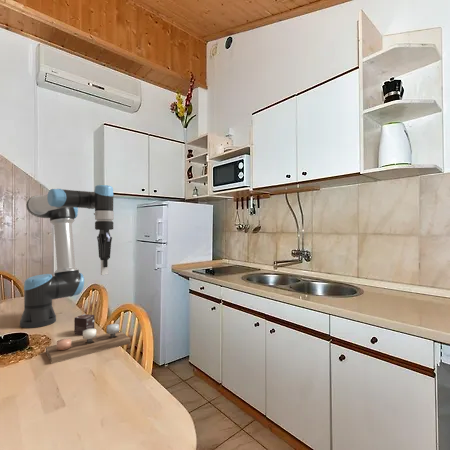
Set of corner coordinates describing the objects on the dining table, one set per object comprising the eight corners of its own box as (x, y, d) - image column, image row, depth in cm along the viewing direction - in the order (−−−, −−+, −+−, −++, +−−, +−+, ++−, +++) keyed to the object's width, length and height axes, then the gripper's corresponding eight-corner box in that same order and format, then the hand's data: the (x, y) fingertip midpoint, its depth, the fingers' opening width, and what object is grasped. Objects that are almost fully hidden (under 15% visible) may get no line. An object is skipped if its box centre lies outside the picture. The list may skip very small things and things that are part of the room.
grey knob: (105, 336, 123) (104, 325, 123) (116, 333, 126) (116, 323, 126) (108, 339, 119) (108, 328, 119) (120, 336, 122) (120, 326, 122)
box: (86, 335, 130) (86, 318, 130) (73, 334, 131) (73, 317, 131) (94, 330, 136) (94, 314, 136) (83, 329, 137) (83, 313, 137)
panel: (45, 352, 112) (45, 347, 112) (119, 335, 130) (119, 330, 130) (51, 363, 103) (51, 357, 103) (130, 343, 121) (130, 338, 121)
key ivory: (81, 341, 117) (81, 330, 117) (94, 338, 120) (94, 327, 120) (84, 345, 113) (84, 333, 113) (97, 342, 116) (97, 330, 116)
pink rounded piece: (55, 352, 111) (55, 340, 111) (69, 349, 114) (69, 337, 114) (58, 356, 108) (57, 344, 108) (72, 353, 111) (72, 341, 111)
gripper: (91, 221, 133) (91, 273, 133) (99, 220, 123) (100, 277, 123) (108, 221, 138) (108, 272, 138) (118, 220, 128) (118, 275, 128)
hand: (104, 274), depth 131 cm, fingers closed
